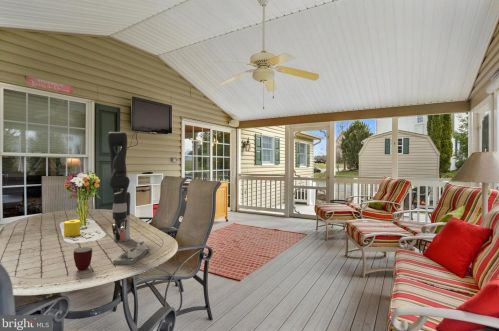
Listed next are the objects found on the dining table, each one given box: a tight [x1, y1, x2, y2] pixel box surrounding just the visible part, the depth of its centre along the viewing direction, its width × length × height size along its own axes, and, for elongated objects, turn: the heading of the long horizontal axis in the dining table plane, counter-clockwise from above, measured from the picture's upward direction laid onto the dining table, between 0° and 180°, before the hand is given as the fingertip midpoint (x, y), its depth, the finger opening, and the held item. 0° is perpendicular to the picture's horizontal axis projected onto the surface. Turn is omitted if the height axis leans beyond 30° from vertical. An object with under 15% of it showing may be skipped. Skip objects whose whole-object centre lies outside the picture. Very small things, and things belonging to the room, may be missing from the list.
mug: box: [73, 246, 93, 272], centre depth 140 cm, size 10×8×10 cm
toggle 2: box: [136, 240, 147, 251], centre depth 163 cm, size 4×3×4 cm
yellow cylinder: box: [63, 219, 81, 237], centre depth 202 cm, size 10×10×9 cm
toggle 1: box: [128, 247, 138, 258], centre depth 151 cm, size 4×3×4 cm
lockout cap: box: [118, 230, 124, 242], centre depth 162 cm, size 4×4×6 cm
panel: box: [113, 246, 149, 266], centre depth 157 cm, size 10×22×3 cm, turn 178°
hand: (119, 239), depth 162 cm, fingers closed on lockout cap, 4 cm apart
